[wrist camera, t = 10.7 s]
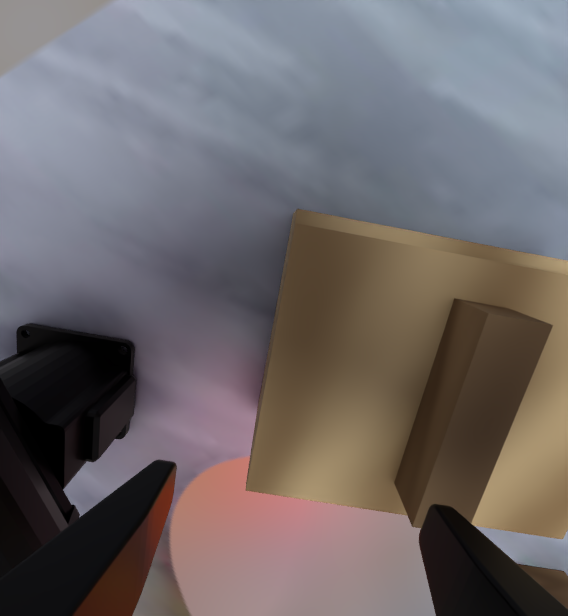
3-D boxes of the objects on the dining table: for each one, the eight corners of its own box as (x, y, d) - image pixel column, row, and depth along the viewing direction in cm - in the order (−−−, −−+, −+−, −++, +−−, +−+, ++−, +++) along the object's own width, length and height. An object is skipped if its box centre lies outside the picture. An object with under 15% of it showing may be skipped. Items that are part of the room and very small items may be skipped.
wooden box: (257, 409, 20) (245, 484, 15) (293, 213, 17) (297, 208, 12) (642, 473, 21) (774, 566, 16) (739, 298, 18) (946, 333, 13)
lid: (247, 475, 14) (238, 534, 12) (294, 222, 12) (297, 223, 9) (548, 523, 15) (606, 589, 12) (661, 292, 12) (767, 312, 10)
